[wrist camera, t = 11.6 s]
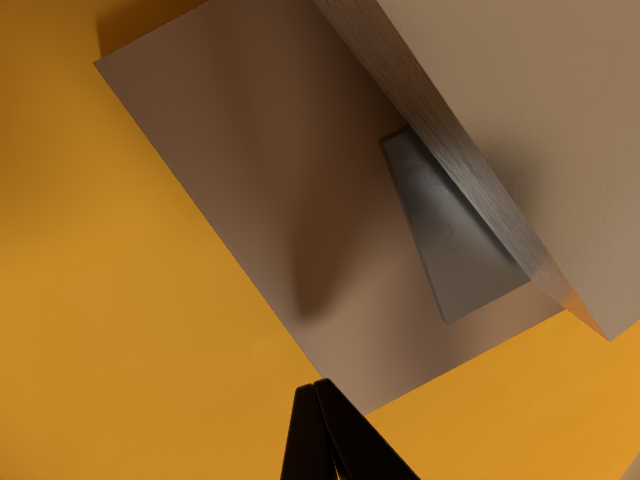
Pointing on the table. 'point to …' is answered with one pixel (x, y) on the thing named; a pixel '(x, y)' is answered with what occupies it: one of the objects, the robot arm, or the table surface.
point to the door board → (304, 189)
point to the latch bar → (526, 128)
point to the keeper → (448, 231)
